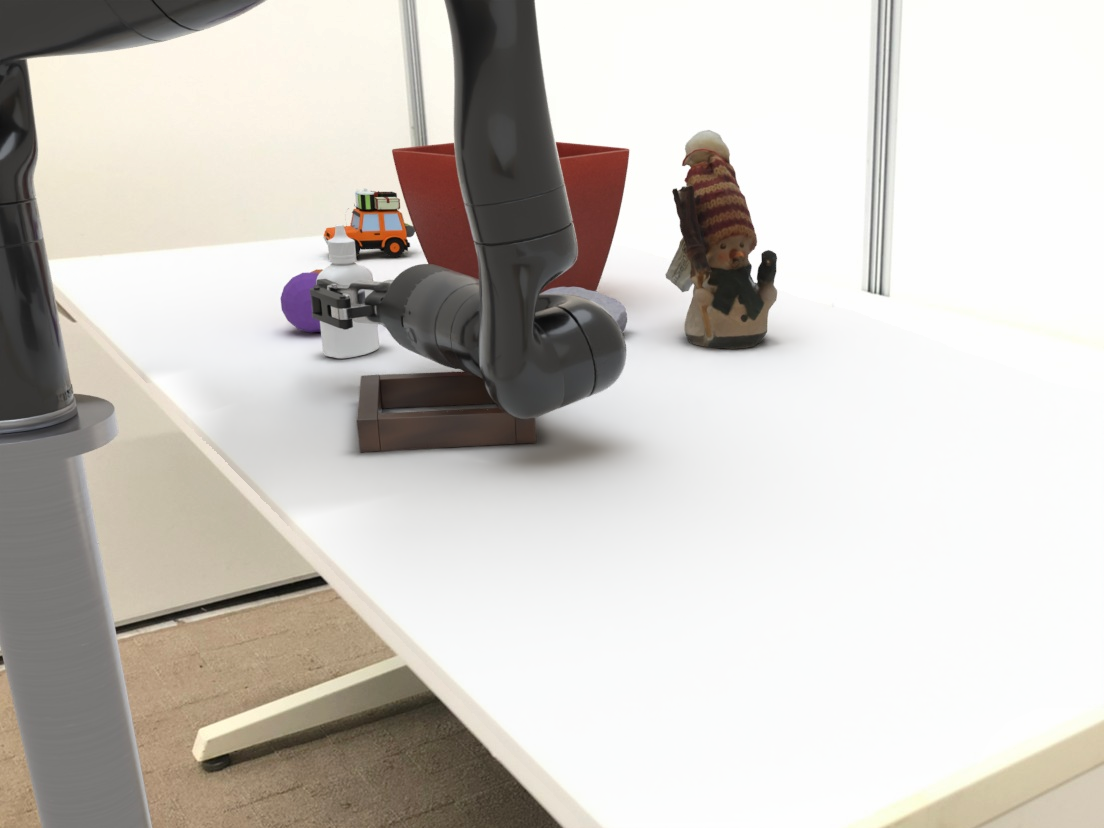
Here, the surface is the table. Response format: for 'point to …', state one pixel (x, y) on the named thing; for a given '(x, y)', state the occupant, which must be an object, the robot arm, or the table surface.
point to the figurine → (719, 252)
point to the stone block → (605, 302)
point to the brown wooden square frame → (433, 413)
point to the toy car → (377, 224)
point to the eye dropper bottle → (344, 273)
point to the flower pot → (445, 224)
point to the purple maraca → (300, 301)
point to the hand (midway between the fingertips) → (366, 285)
